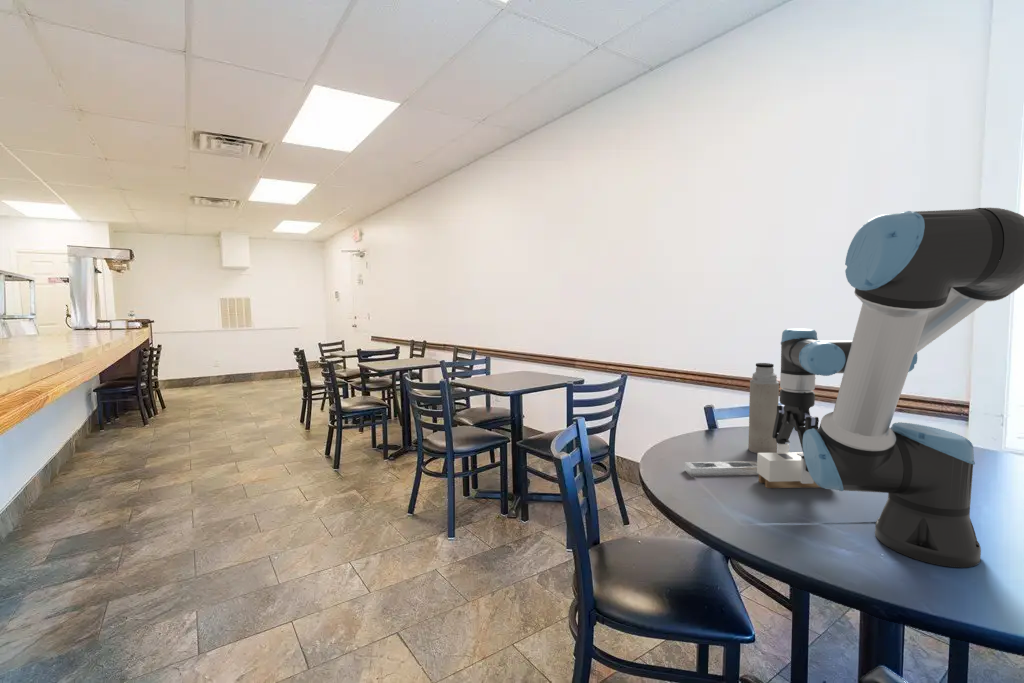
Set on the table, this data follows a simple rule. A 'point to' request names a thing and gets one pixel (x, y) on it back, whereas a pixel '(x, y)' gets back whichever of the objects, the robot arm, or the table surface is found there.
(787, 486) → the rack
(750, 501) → the table surface
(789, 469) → the power strip
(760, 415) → the thermos bottle
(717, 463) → the keyhole plate
